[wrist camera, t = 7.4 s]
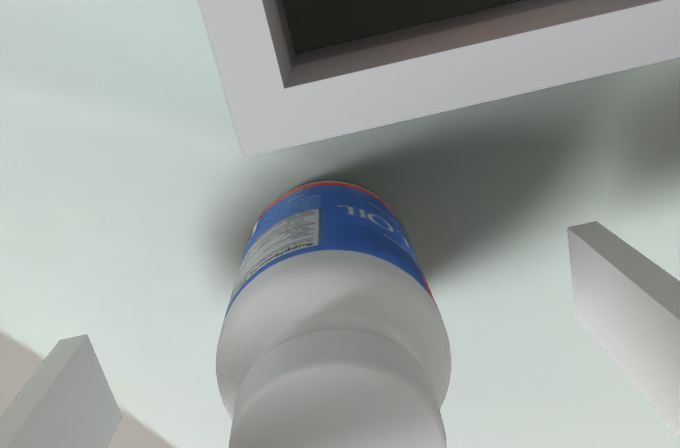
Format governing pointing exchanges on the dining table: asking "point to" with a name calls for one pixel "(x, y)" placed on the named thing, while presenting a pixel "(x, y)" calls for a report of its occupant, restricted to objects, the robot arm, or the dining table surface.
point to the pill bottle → (332, 329)
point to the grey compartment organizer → (420, 63)
